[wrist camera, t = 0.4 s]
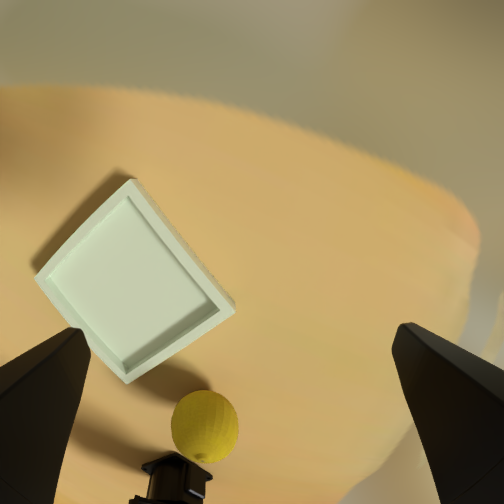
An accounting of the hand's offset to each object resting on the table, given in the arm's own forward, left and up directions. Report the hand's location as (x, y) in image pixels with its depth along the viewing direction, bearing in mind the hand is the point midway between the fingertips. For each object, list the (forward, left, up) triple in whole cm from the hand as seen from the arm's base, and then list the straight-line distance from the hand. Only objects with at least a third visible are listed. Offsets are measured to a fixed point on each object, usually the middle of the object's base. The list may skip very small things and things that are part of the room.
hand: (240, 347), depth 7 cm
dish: (-9, +2, -15) cm, 17 cm away
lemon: (-11, -10, -15) cm, 21 cm away
